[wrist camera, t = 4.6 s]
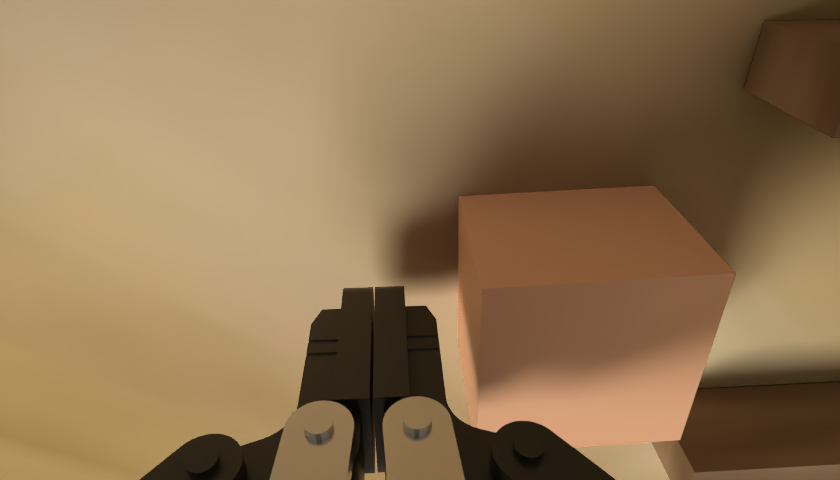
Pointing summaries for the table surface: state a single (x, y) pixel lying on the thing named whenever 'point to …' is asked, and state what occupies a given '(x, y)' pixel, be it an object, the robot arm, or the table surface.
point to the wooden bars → (776, 404)
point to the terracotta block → (585, 312)
